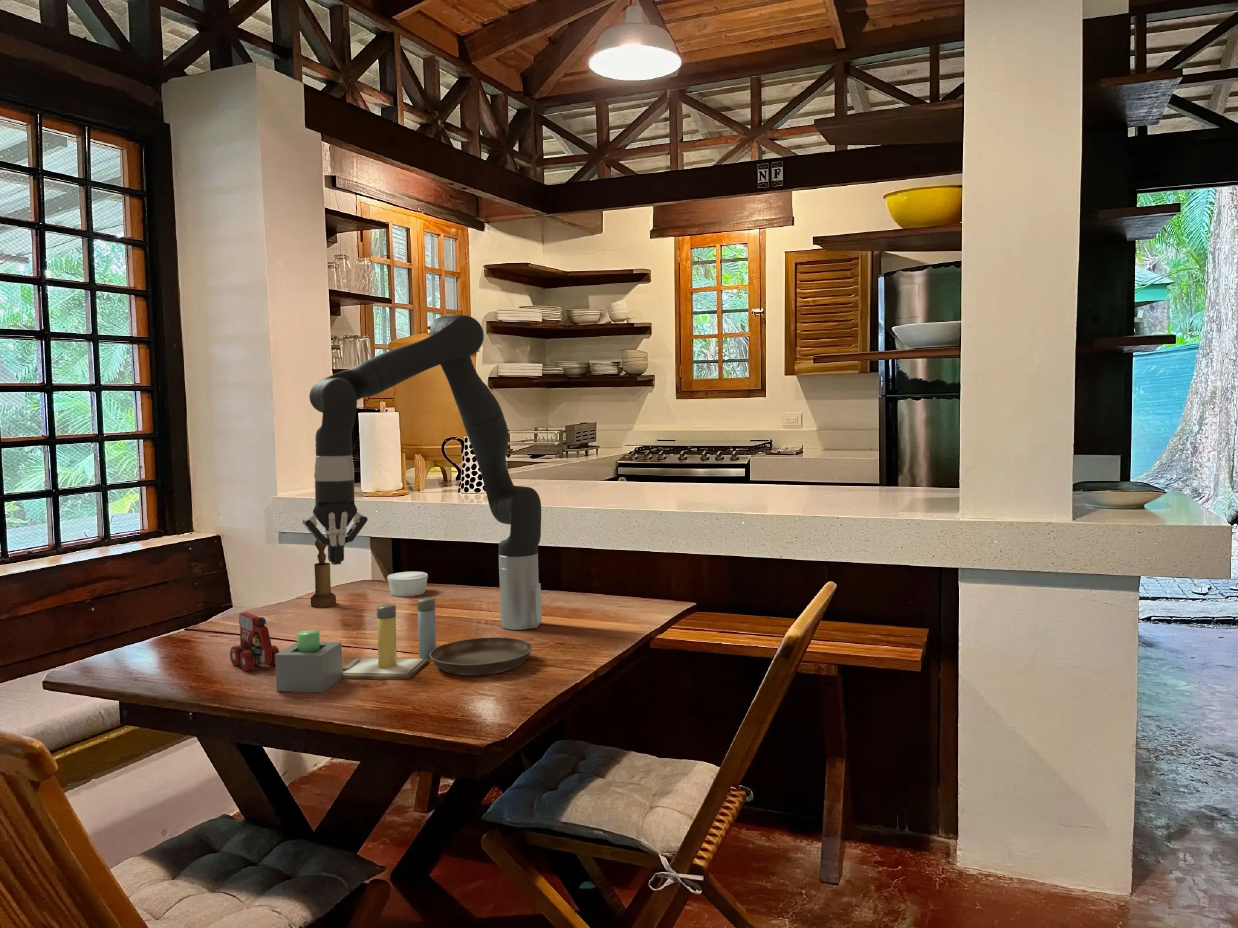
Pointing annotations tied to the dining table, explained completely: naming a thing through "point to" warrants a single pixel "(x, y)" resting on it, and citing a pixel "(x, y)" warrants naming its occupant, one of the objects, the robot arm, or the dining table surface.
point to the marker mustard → (386, 636)
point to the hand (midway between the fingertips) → (336, 563)
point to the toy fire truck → (253, 643)
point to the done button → (308, 641)
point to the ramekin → (407, 583)
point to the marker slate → (426, 626)
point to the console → (309, 668)
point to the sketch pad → (382, 669)
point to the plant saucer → (481, 655)
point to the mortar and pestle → (322, 581)
